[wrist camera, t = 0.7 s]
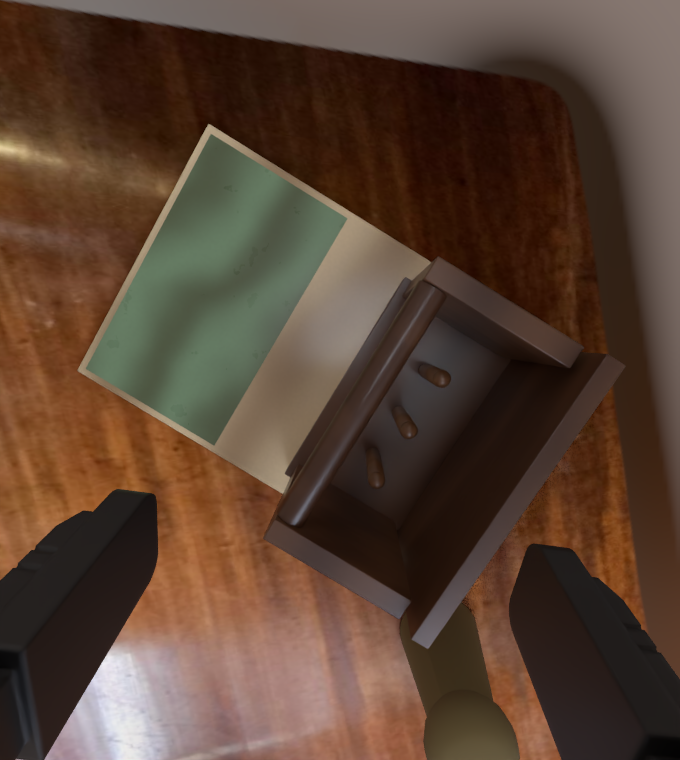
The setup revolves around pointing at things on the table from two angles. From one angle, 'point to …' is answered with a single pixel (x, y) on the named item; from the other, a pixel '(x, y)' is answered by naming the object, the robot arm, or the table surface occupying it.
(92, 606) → the robot arm
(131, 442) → the table surface
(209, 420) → the board
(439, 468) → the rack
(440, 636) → the olive pawn
